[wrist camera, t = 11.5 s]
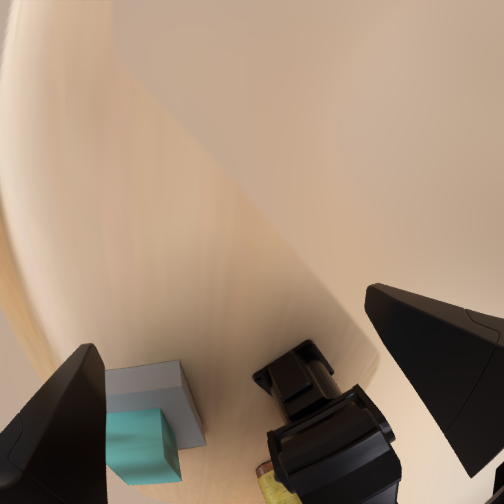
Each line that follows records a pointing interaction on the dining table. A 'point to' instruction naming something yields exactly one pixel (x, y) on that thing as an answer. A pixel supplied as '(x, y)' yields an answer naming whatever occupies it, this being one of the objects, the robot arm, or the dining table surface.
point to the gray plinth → (157, 398)
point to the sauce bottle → (274, 487)
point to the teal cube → (142, 447)
